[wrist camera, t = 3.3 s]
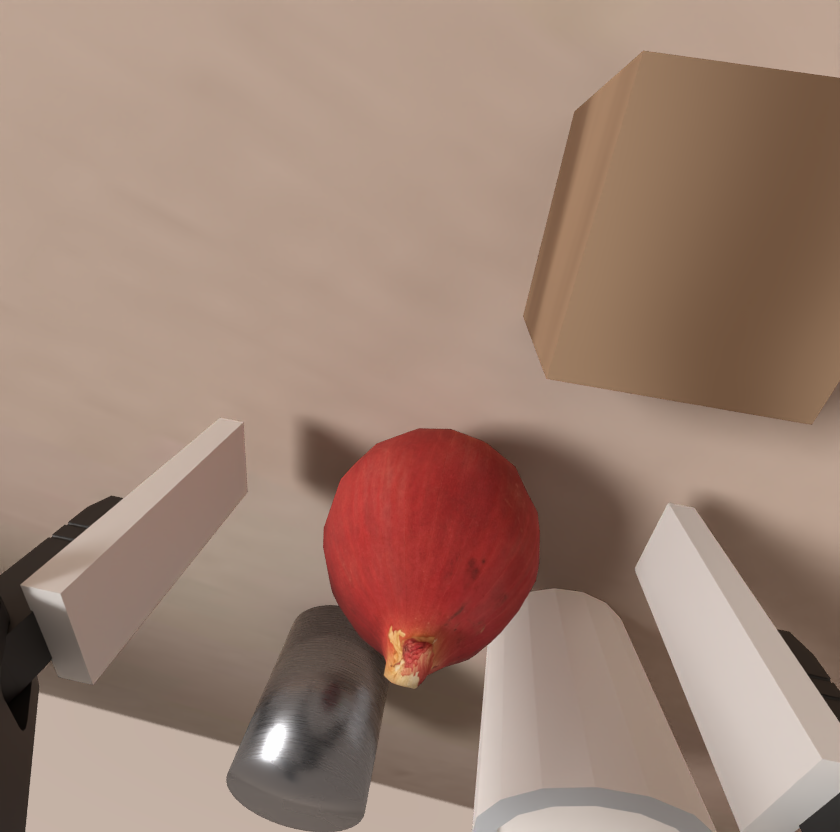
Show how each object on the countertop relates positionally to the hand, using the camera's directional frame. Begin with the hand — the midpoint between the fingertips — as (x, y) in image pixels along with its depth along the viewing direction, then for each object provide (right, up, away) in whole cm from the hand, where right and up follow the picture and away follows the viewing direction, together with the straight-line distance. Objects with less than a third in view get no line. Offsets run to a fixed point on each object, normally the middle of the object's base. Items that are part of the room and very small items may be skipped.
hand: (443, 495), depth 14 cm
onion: (0, +1, +2) cm, 2 cm away
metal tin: (-4, -8, +7) cm, 12 cm away
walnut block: (+5, +7, -2) cm, 9 cm away
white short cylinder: (+5, -7, +5) cm, 10 cm away
